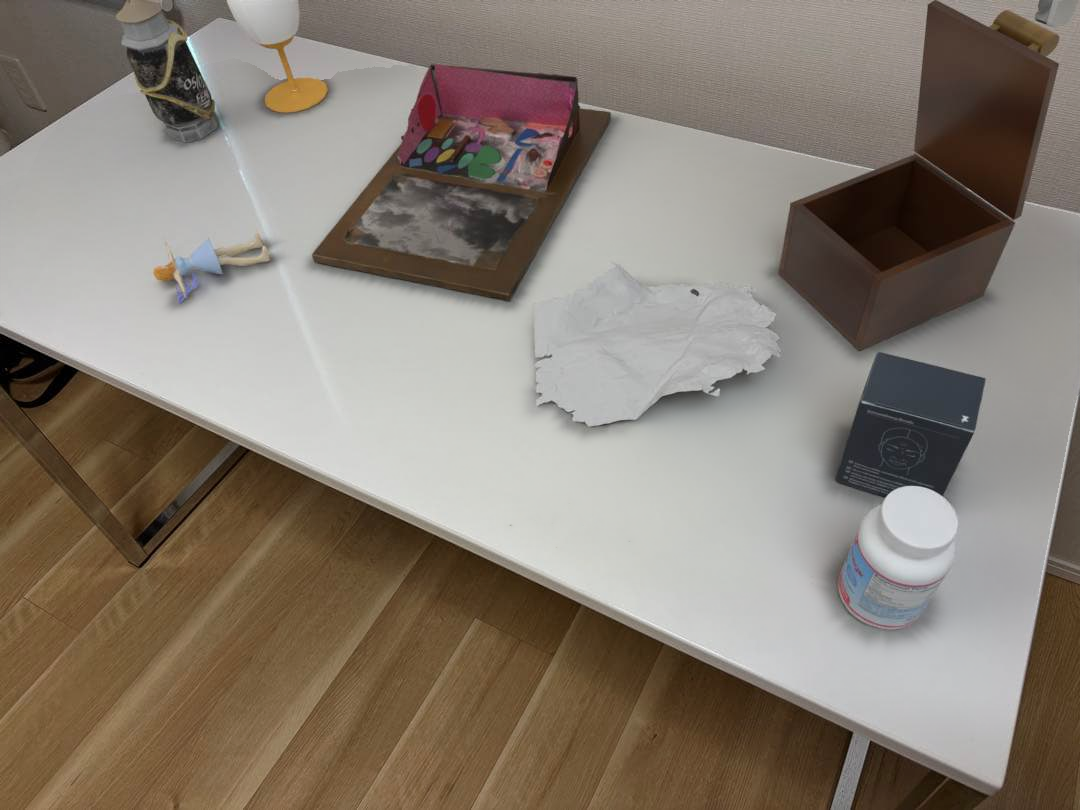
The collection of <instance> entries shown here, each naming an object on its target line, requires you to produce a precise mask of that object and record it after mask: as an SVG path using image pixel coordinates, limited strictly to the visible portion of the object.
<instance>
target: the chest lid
mask: <svg viewBox="0 0 1080 810" xmlns="http://www.w3.org/2000/svg"><path fill="white" fill-rule="evenodd" d="M925 20H926V21H925V29H924V30H925V31H924V39H923V40H924V41H923V50H922V51H923V52H922V61H921V70H920V72H921V73H920V83H919V93H918V105H917V115H916V125H915V135H914V146H913V152H915V154H917V155H918V156H920V157H921V158H923V159H924V160H926V161H927V162H929V163H930V164H932V165H933V166H934V167H936V168H937V169H939V170H940V171H942V172H943V173H945V174H946V175H947V176H949V177H950V178H952V179H953V180H955V181H956V182H958V183H959V184H960V185H962V186H963V187H965V188H966V189H968V190H969V191H970V192H972V193H973V194H975V195H976V196H978V197H979V198H981V199H982V200H983V201H985V202H986V203H988V204H989V205H991V206H992V207H994V208H995V209H996V210H998V211H999V212H1001V213H1002V214H1004V215H1005V216H1007V217H1008V218H1009V219H1011V220H1012V221H1016V220H1017V219H1019V218H1020V217H1022V214H1023V211H1024V206H1025V202H1026V198H1027V195H1028V190H1029V187H1030V182H1031V179H1032V175H1033V170H1034V167H1035V163H1036V159H1037V155H1038V150H1039V146H1040V143H1041V138H1042V134H1043V130H1044V126H1045V122H1046V118H1047V115H1048V111H1049V106H1050V102H1051V98H1052V95H1053V90H1054V86H1055V82H1056V78H1057V74H1058V70H1059V66H1060V63H1059V62H1057V61H1055V60H1053V59H1051V58H1049V57H1048V56H1049V55H1051V53H1053V52H1054V51H1055V49H1056V48H1057V46H1058V44H1059V43H1060V35H1059V33H1056V32H1054V31H1052V30H1050V29H1048V28H1046V27H1044V26H1042V25H1039V24H1037V23H1035V22H1034V21H1033V20H1030V19H1028V18H1026V17H1023V16H1021V15H1019V14H1017V13H1015V12H1014V11H1012V10H1009V9H1005V10H1003V11H1001V12H1000V13H998V15H997V16H996V17H995V19H994V20H993V22H992V24H990V25H988V26H987V25H985V24H983V23H981V22H980V21H978V20H976V19H974V18H972V17H971V16H968V15H966V14H965V13H963V12H961V11H960V10H959V11H958V10H957V9H955V8H953V7H951V6H949V5H947V4H946V3H943V2H941V1H940V0H932V1H931V2H929V3H927V9H926V19H925Z"/></svg>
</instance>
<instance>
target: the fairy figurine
mask: <svg viewBox="0 0 1080 810" xmlns="http://www.w3.org/2000/svg"><path fill="white" fill-rule="evenodd" d="M162 239H163V242H164V245H165V247H166V250H167V255H168V258H169V260H170V263H167V264H166V265H161V266H160V265H158V266H155V267H154V268H153V277H154V278H155V279H156V280H158V281H162V282H167V281H169V282H170V281H172V280H174V281H175V282H176V283H175V289H176V296H177V301H178V304H181V303H182V302H183V301H184V300H185V299H188V295H189V294H190V292H191V291H192V290H195V289H196V288H197V287H198V285H199V282H198V278H197V276H196V274H195V273H193V272H191V276H192V277H191V276H190V279H189V277H187V276H185V275H187V274H188V273H189V271H190V270H191V269H195V270H197V271H200V272H205V273H210V274H215V275H221V276H223V275H224V273H223V270H222V268H221V266H223V265H232V266H237V267H238V266H239V267H247V266H252V265H255V264H259V263H260V264H261V263H268V262H271V259H270V255H269V252H268V249H267V247H266V245H263V242H262V239H261V236H260V233H259V231H257V230H256V231H255V232H254V240H253V241H251V242H249V243H243V244H241V243H240V244H236V245H232V246H229V247H219V248H214V246H213V244H212V242H211V239H210V238H209V237H207V239H206V240H205V241H203V242H202V244H200V245H199V247H198V248H197V249H195V250H194V252H193V253H191V254H190V255H189V256H188V257H187V256H186V257H185V258H183V257H182V256H176V257H175V258H174V255H173V253H172V251H171V250H170V247H169V245H168V243H167V241H166V239H165V238H164V237H163V238H162ZM260 248H261V254H260V255H259V256H255V257H230V256H237V255H241V254H243V253H245V252H248V251H250V250H253V249H254V250H255V249H260ZM220 256H221V257H220ZM223 256H224V257H223ZM225 256H226V257H225ZM228 256H229V257H228ZM183 277H185V278H186V279H187V280H188V281H187V280H184V278H183ZM191 279H193V280H194V281H192V280H191ZM192 282H193V283H192ZM189 283H192V286H191V285H187V284H189ZM177 284H178V285H179V288H180V289H179V290H178V286H177ZM180 291H181V292H182V294H181V292H180Z"/></svg>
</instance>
